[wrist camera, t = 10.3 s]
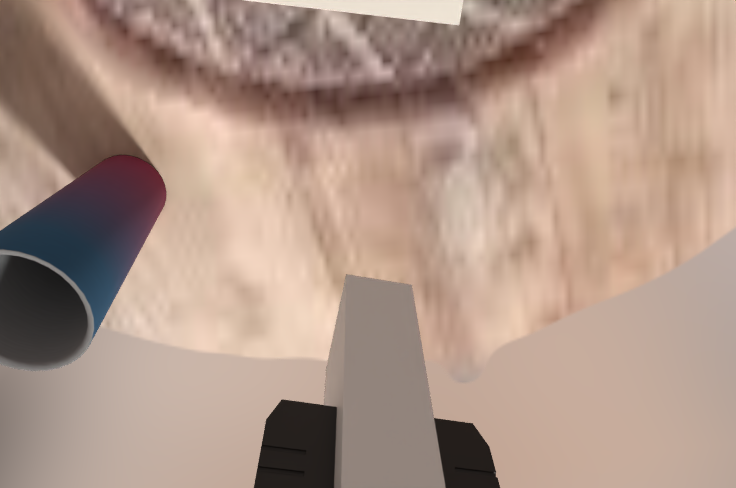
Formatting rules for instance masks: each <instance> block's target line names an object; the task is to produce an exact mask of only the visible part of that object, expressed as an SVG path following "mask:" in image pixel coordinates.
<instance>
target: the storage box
mask: <svg viewBox="0 0 736 488" xmlns="http://www.w3.org/2000/svg"><path fill="white" fill-rule="evenodd" d="M247 1H255V2H264V3H272V4H281V5H290V6H298V7H307V8H315V9H324V10H332V11H341V12H350V13H358V14H367V15H375V16H384V17H392V18H401V19H410V20H418V21H427V22H435V23H444V24H452V25H459V22H460V17H461V11H462V5H463V0H247Z"/></svg>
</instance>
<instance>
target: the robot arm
mask: <svg viewBox="0 0 736 488" xmlns="http://www.w3.org/2000/svg"><path fill="white" fill-rule="evenodd" d="M254 488H500V485H499V482H498V478H497V477H496V471H495V467H494V463H493V459H492V455H491V452H490V448H489V446H488V444H487V443H486V442H485V440H484V439H483V437H482V436H481V435H480V433H479V432H478V430H477V429H476V428H475V426H474V425H473V423H465V422H457V421H450V420H443V419H436V418H434V415H433V409H432V404H431V397H430V391H429V385H428V379H427V374H426V367H425V361H424V355H423V349H422V343H421V337H420V331H419V325H418V319H417V313H416V307H415V301H414V295H413V289H412V285H410V284H403V283H397V282H391V281H385V280H378V279H372V278H366V277H360V276H354V275H347V274H346V278H345V283H344V287H343V292H342V297H341V301H340V306H339V311H338V315H337V320H336V325H335V330H334V334H333V339H332V344H331V348H330V353H329V358H328V363H327V367H326V380H325V395H324V405H319V404H311V403H304V402H296V401H289V400H281V402H280V403H279V404H278V405H277V407H276V408H275V409H274V410H273V412H272V413H271V414H270V416H269V417H268V418H267V419H266V424H265V430H264V436H263V441H262V446H261V452H260V457H259V463H258V469H257V474H256V479H255V485H254Z"/></svg>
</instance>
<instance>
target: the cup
mask: <svg viewBox="0 0 736 488" xmlns="http://www.w3.org/2000/svg"><path fill="white" fill-rule="evenodd" d="M165 201H166V188H165V184H164V182H163V179H162V178H161V176H160V175H159V173H158V172H157V171H156V170H155V169H154V168H153V167H152V166H151V165H150V164H148V163H147V162H145V161H143V160H141V159H139V158H136V157H133V156H128V155H117V156H112V157H109V158H107V159H105V160H104V161H102V162H101V163H99V164H98V165H96V166H95V167H93V168H92V169H90V170H89V171H87V172H86V173H84V174H83V175H81V176H80V177H79V178H77V179H76V180H74V181H73V182H71V183H70V184H68V185H67V186H65V187H64V188H62V189H61V190H59V191H58V192H57V193H55V194H54V195H52V196H51V197H49V198H48V199H46V200H45V201H43V202H42V203H40V204H39V205H37V206H36V207H34V208H33V209H32V210H30V211H29V212H27V213H26V214H24V215H23V216H21V217H20V218H18V219H17V220H15V221H14V222H12V223H11V224H10V225H8V226H7V227H5V228H4V229H2V230H1V231H0V364H1V365H3V366H7V367H11V368H15V369H19V370H28V371H47V370H52V369H57V368H60V367H63V366H65V365H68V364H70V363H72V362H73V361H75V360H76V359H78V358H79V357H80V356H81V355H82V354H83V353H84V352H85V351H86V350H87V349H88V347H89V345H90V343H91V341H92V339H93V337H94V336H95V334H96V332H97V330H98V328H99V326H100V325H101V323H102V321H103V319H104V317H105V315H106V313H107V311H108V310H109V308H110V306H111V304H112V302H113V300H114V298H115V297H116V295H117V293H118V291H119V289H120V287H121V285H122V283H123V282H124V280H125V278H126V276H127V274H128V272H129V270H130V268H131V267H132V265H133V263H134V261H135V259H136V257H137V255H138V254H139V252H140V250H141V248H142V246H143V244H144V242H145V240H146V239H147V237H148V235H149V233H150V231H151V229H152V227H153V226H154V224H155V222H156V220H157V218H158V216H159V214H160V212H161V211H162V209H163V207H164V205H165Z"/></svg>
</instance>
